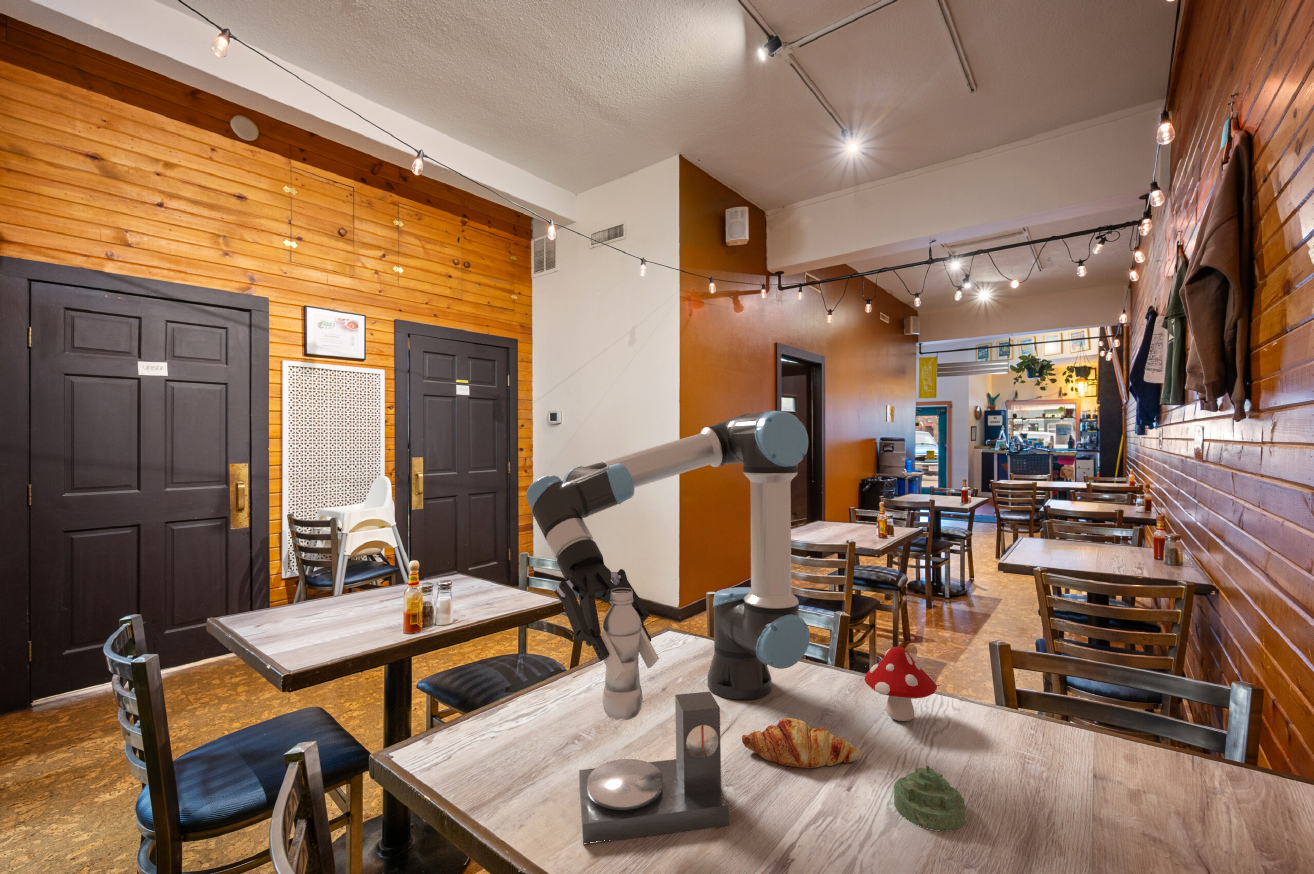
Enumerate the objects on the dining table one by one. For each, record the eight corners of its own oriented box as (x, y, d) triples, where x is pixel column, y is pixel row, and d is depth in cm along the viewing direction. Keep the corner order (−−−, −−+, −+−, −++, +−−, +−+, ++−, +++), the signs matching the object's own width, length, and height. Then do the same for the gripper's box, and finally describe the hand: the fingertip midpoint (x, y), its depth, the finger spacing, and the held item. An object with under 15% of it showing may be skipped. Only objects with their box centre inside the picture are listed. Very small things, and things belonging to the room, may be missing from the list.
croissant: (857, 772, 106) (854, 724, 110) (866, 774, 97) (862, 722, 101) (742, 761, 110) (742, 715, 113) (741, 762, 101) (741, 712, 105)
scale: (705, 772, 100) (704, 681, 101) (728, 825, 87) (727, 719, 87) (579, 787, 97) (578, 692, 97) (583, 844, 83) (581, 734, 83)
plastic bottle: (645, 706, 94) (644, 585, 94) (640, 727, 87) (638, 596, 88) (606, 705, 95) (605, 585, 95) (598, 725, 88) (597, 595, 88)
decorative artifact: (971, 807, 90) (904, 783, 97) (970, 762, 90) (904, 742, 97) (956, 841, 83) (885, 814, 89) (955, 793, 83) (884, 768, 89)
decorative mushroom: (927, 705, 125) (926, 636, 125) (948, 737, 111) (946, 660, 111) (860, 701, 127) (858, 634, 127) (872, 732, 113) (870, 656, 114)
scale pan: (655, 761, 98) (655, 755, 98) (669, 804, 86) (669, 797, 86) (585, 768, 96) (585, 762, 96) (589, 814, 84) (589, 807, 84)
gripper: (609, 555, 109) (669, 665, 97) (519, 572, 96) (575, 700, 84) (626, 531, 105) (691, 641, 93) (535, 544, 92) (597, 675, 80)
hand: (636, 669), depth 89 cm, fingers closed on plastic bottle, 6 cm apart
